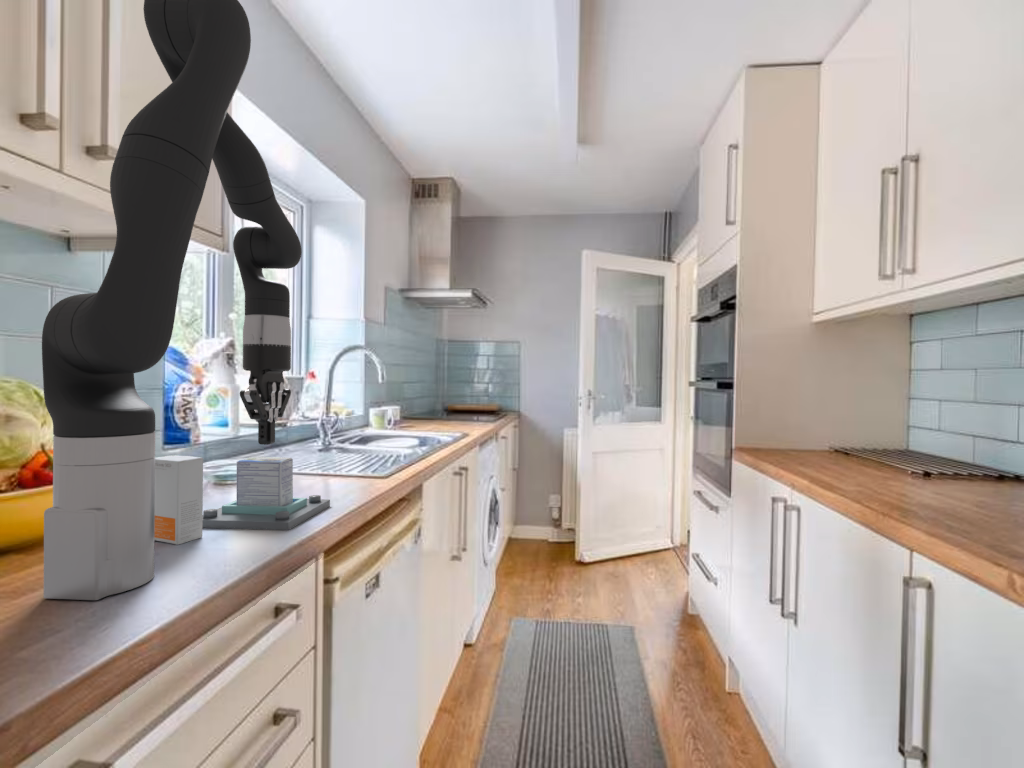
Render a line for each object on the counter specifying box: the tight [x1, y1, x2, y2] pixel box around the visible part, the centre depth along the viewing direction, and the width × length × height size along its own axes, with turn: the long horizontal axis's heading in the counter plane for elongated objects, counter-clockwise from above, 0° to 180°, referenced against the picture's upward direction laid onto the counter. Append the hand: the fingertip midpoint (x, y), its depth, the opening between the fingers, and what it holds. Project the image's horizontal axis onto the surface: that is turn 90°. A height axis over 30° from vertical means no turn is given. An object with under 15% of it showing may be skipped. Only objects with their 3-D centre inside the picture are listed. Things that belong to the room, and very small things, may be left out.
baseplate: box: [202, 494, 331, 531], centre depth 91 cm, size 16×16×2 cm
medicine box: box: [236, 456, 294, 506], centre depth 91 cm, size 8×4×9 cm, turn 87°
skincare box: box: [154, 454, 204, 546], centre depth 78 cm, size 6×4×12 cm
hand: (266, 443), depth 91 cm, fingers closed
